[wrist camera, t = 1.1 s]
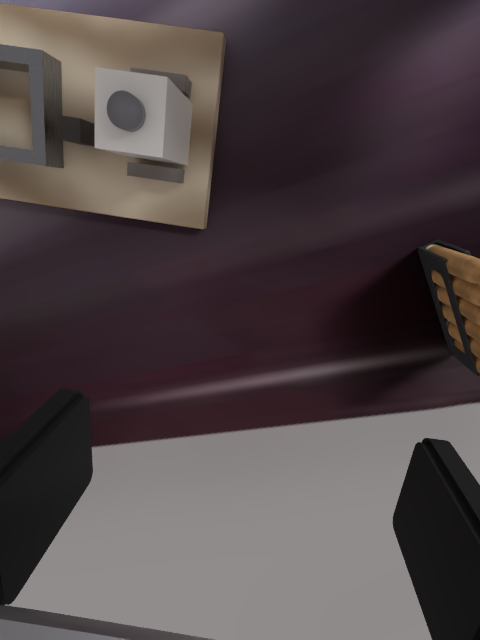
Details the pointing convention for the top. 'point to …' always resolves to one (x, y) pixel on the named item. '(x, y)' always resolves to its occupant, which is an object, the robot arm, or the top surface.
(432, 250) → the ammunition clip
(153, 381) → the top surface
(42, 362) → the top surface
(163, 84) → the plug
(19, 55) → the frame
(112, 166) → the board
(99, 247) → the top surface
